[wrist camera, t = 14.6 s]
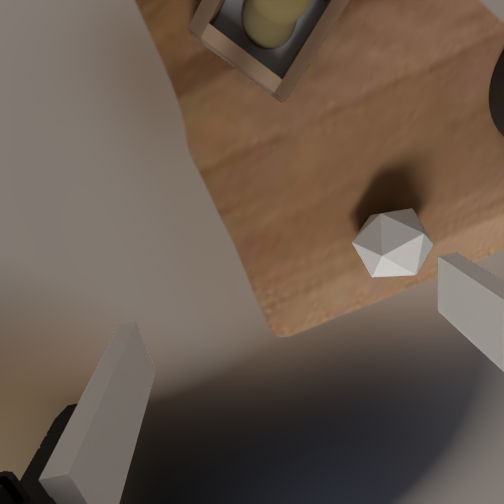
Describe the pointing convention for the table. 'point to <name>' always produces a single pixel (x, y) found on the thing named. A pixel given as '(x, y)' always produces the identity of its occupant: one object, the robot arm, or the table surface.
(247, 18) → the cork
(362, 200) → the table surface
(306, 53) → the wooden tray
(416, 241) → the die
